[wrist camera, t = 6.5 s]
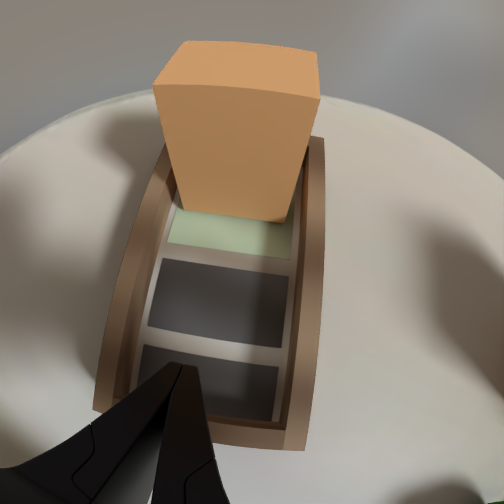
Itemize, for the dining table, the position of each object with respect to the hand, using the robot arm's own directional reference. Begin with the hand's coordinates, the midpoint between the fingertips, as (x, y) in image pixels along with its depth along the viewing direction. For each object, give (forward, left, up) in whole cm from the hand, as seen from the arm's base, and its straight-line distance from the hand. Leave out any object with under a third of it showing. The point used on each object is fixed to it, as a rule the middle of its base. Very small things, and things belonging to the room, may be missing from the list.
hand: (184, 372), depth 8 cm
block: (+9, +6, -6) cm, 12 cm away
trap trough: (+6, +4, -7) cm, 10 cm away
